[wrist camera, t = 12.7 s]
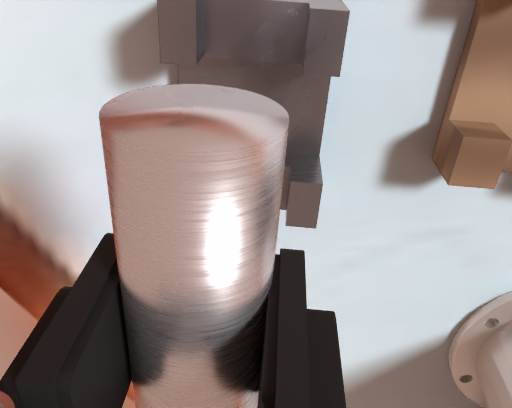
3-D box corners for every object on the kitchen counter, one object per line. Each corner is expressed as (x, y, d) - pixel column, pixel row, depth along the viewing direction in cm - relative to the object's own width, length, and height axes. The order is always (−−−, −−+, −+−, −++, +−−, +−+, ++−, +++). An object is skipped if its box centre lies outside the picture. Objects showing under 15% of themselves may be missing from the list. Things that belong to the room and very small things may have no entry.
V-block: (312, 189, 26) (315, 228, 22) (184, 178, 26) (167, 215, 22) (340, -2, 21) (349, 11, 17) (179, -14, 21) (157, -4, 17)
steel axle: (257, 414, 14) (247, 526, 11) (159, 404, 14) (128, 511, 11) (290, 91, 9) (287, 160, 6) (134, 78, 9) (64, 139, 6)
